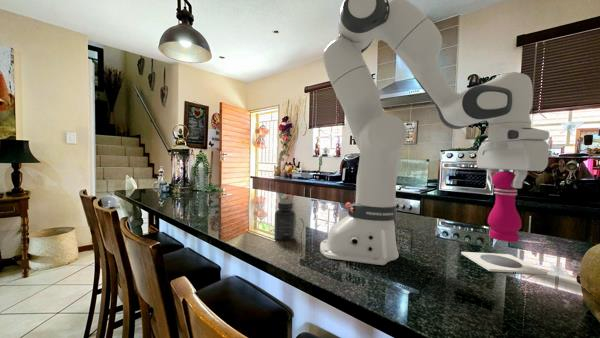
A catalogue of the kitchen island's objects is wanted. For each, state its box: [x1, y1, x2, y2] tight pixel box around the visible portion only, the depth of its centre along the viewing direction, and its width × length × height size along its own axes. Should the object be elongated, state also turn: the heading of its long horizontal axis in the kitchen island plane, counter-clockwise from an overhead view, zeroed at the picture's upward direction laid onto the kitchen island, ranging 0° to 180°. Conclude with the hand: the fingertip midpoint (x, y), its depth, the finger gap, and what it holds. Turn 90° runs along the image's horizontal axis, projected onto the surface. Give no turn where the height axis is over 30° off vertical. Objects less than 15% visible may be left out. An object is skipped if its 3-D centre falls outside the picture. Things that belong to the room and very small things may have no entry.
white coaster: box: [460, 251, 548, 275], centre depth 69 cm, size 14×12×1 cm
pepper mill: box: [487, 169, 523, 243], centre depth 68 cm, size 7×7×20 cm
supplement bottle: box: [273, 201, 296, 242], centre depth 84 cm, size 7×7×12 cm
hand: (505, 186), depth 68 cm, fingers closed on pepper mill, 6 cm apart
